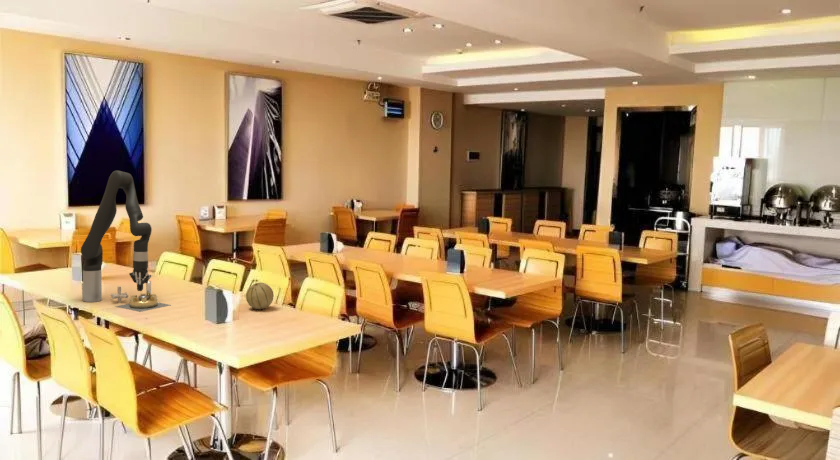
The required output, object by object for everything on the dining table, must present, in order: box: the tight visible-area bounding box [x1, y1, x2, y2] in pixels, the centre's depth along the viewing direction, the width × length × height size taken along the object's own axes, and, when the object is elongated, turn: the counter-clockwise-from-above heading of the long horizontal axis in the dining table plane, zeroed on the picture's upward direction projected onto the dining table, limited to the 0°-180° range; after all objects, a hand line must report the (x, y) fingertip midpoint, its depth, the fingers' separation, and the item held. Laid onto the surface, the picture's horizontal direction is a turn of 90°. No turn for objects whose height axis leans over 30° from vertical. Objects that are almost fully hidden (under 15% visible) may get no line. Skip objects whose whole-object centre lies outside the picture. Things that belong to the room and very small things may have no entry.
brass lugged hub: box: [128, 280, 159, 308], centre depth 349 cm, size 14×14×12 cm
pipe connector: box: [110, 285, 129, 303], centre depth 355 cm, size 10×10×10 cm
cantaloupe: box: [245, 282, 275, 310], centre depth 358 cm, size 15×15×15 cm
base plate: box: [114, 301, 172, 313], centre depth 349 cm, size 20×20×2 cm
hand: (140, 290), depth 355 cm, fingers closed
